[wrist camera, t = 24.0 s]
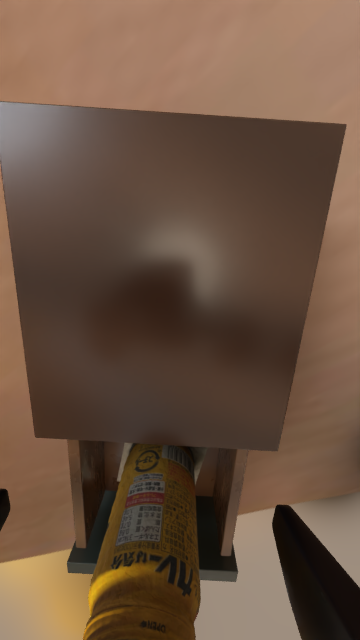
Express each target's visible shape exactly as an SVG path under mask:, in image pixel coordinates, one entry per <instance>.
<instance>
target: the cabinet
mask: <svg viewBox="0 0 360 640" xmlns="http://www.w3.org/2000/svg"><path fill="white" fill-rule="evenodd" d="M345 130H346V124H336V123H321V122H306V121H291V120H276V119H261V118H245V117H230V116H215V115H200V114H185V113H170V112H155V111H140V110H125V109H110V108H95V107H79V106H64V105H49V104H34V103H19V102H4V101H0V164H1V172H2V180H3V188H4V196H5V204H6V211H7V219H8V227H9V235H10V243H11V251H12V259H13V267H14V275H15V283H16V290H17V298H18V306H19V314H20V322H21V330H22V338H23V346H24V354H25V361H26V369H27V377H28V385H29V393H30V401H31V409H32V417H33V425H34V433H35V437H36V438H53V439H70V440H87V441H105V442H122V443H139V444H157V445H174V446H191V447H209V448H226V449H243V450H261V451H278V448H279V443H280V438H281V433H282V429H283V424H284V419H285V414H286V410H287V405H288V400H289V395H290V391H291V386H292V381H293V376H294V372H295V367H296V362H297V357H298V353H299V348H300V343H301V338H302V334H303V329H304V324H305V320H306V315H307V310H308V305H309V301H310V296H311V291H312V286H313V282H314V277H315V272H316V267H317V263H318V258H319V253H320V248H321V244H322V239H323V234H324V229H325V225H326V220H327V215H328V210H329V206H330V201H331V196H332V191H333V187H334V182H335V177H336V173H337V168H338V163H339V158H340V154H341V149H342V144H343V139H344V135H345Z"/></svg>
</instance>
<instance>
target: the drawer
mask: <svg viewBox="0 0 360 640" xmlns="http://www.w3.org/2000/svg"><path fill="white" fill-rule="evenodd" d="M67 441H68V453H69V465H70V477H71V489H72V501H73V514H74V526H75V538H76V540H75V543H74V546H73V548H72V551H71V553H70V556H69V559H68V561H67V567H68V573H82V574H93V573H94V570H95V567H96V565H97V560H98V558H99V554H100V551H101V546H102V543H103V540H104V537H105V534H106V530H107V525H108V521H109V517H110V514H111V510H112V506H113V504H114V501H115V498H116V493H117V490H118V486H119V483H120V482H119V481H117V478H118V473H119V468H120V463H121V459H122V454H123V449H124V444H125V443H122V442H105V441H87V440H70V439H67ZM247 455H248V450H243V449H226V448H209V447H208V449H207V452H206V455H205V458H204V461H203V463H202V466H201V469H200V472H199V475H198V478H197V481H196V484H195V498H196V520H197V538H198V557H199V576H200V580H212V581H230V582H236V579H237V574H238V569H237V564H236V558H235V553H234V547H233V537H234V532H235V526H236V520H237V514H238V508H239V502H240V496H241V490H242V484H243V478H244V473H245V467H246V461H247Z"/></svg>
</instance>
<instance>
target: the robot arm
mask: <svg viewBox="0 0 360 640" xmlns="http://www.w3.org/2000/svg"><path fill="white" fill-rule="evenodd" d="M9 512H10V502H9V496H8V491H7V490H6V489H0V530H1V529H2V527H3V525H4V523H5V521H6V519H7V517H8V515H9ZM272 527H273V533H274V537H275V541H276V546H277V550H278V554H279V559H280V563H281V567H282V572H283V576H284V580H285V584H286V588H287V592H288V596H289V600H290V603H291V607H292V610H293V613H294V616H295V620H296V623H297V626H298V630H299V633H300V636H301V639H302V640H360V588H359V587H358V585H357V584H356V583H355V582H354V581H353V580H352V578H351V577H350V576H349V575H348V574H347V573H346V571H345V570H344V569H343V568H342V567H341V565H340V564H339V563H338V562H337V561H336V559H335V558H334V557H333V556H332V555H331V554H330V552H329V551H328V550H327V549H326V548H325V546H324V545H323V544H322V543H321V542H320V541H319V540H318V538H317V537H316V536H315V535H314V534H313V532H312V531H311V530H310V529H309V528H308V527H307V525H306V524H305V523H304V522H303V521H302V519H300V517H299V516H298V515H297V514H296V512H295V511H294V510H293V509H292V508H291V507H290V506H289V505H277V506H276V508H275V513H274V517H273V522H272Z"/></svg>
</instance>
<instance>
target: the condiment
mask: <svg viewBox="0 0 360 640" xmlns="http://www.w3.org/2000/svg"><path fill="white" fill-rule="evenodd" d="M207 449H208V447H191V446H174V445H157V444H139V443H125V444H124V449H123V454H122V459H121V463H120V468H119V473H118V478H117V481H119V482H120V483H119V486H118V490H117V493H116V498H115V501H114V504H113V506H112V510H111V514H110V517H109V521H108V525H107V530H106V534H105V537H104V540H103V543H102V546H101V551H100V554H99V558H98V560H97V565H96V567H95V570H94V573H93V577H92V579H91V585H90V590H89V596H88V602H89V606H90V616H91V617H90V619H89V621H88V622H87V625H86V628H85V631H84V636H83V640H195V637H196V636H195V628H194V621H195V619H196V617H197V614H198V612H199V606H200V599H201V598H200V576H199V557H198V538H197V520H196V498H195V484H196V481H197V478H198V475H199V472H200V469H201V466H202V463H203V461H204V458H205V455H206V452H207Z"/></svg>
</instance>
